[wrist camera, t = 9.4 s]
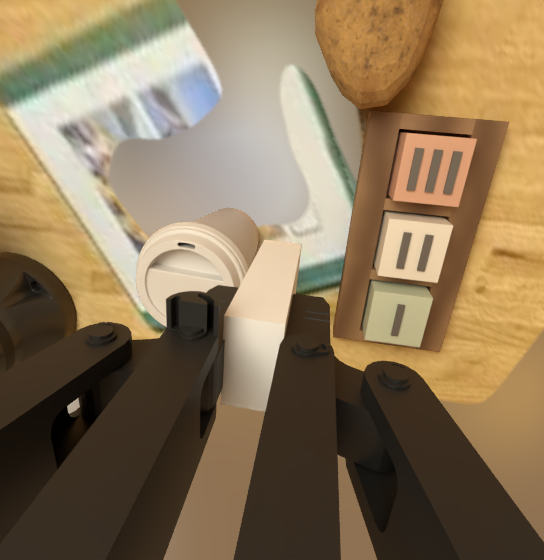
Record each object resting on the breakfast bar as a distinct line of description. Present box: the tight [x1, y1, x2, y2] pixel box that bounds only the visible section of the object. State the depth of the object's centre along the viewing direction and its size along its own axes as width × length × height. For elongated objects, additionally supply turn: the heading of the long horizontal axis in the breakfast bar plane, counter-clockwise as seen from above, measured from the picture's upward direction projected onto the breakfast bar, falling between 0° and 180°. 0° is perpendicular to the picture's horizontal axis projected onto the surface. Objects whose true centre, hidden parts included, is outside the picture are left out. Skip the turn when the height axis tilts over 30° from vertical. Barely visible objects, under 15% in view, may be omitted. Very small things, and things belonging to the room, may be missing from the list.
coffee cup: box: [136, 208, 259, 327], centre depth 36 cm, size 10×10×15 cm
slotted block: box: [362, 279, 433, 347], centre depth 41 cm, size 6×6×4 cm
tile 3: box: [387, 132, 477, 207], centre depth 35 cm, size 6×6×4 cm
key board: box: [333, 111, 509, 352], centre depth 39 cm, size 12×24×2 cm, turn 175°
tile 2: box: [373, 210, 453, 283], centre depth 38 cm, size 6×6×4 cm
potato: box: [315, 0, 442, 109], centre depth 30 cm, size 10×14×8 cm
